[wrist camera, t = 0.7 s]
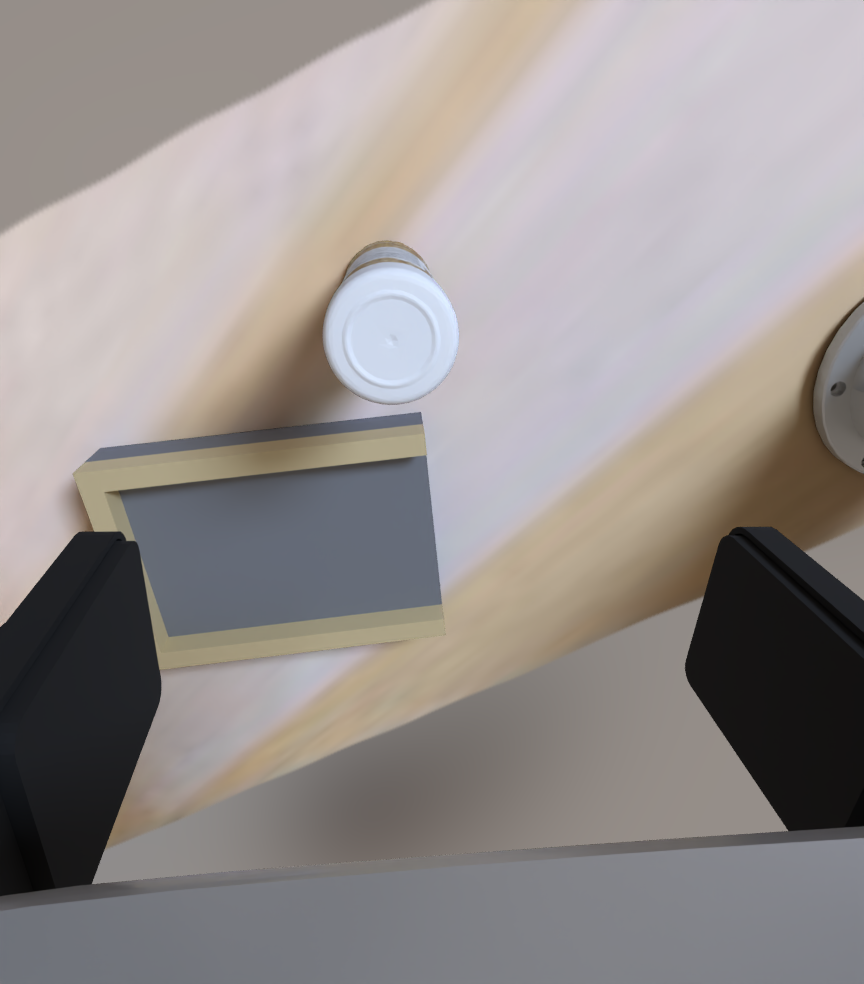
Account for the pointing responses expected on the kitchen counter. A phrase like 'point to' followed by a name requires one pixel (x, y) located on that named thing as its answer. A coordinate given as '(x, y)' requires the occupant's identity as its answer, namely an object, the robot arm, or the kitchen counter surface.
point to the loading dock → (276, 537)
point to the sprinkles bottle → (390, 326)
